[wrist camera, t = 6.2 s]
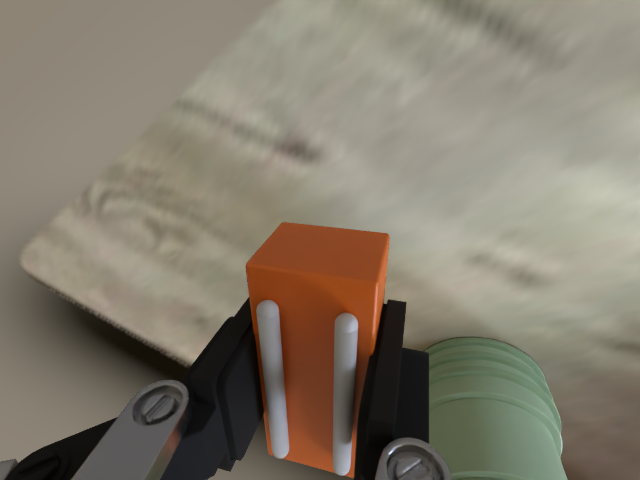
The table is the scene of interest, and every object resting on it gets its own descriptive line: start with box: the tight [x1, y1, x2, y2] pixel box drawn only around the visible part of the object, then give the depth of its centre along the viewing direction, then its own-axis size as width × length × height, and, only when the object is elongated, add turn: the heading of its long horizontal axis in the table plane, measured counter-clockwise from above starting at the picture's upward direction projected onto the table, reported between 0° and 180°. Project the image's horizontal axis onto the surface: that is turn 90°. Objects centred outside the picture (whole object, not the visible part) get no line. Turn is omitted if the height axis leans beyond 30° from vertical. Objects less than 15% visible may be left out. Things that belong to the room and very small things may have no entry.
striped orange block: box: [246, 222, 390, 478], centre depth 10 cm, size 7×3×3 cm, turn 1°
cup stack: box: [424, 337, 567, 480], centre depth 19 cm, size 9×9×11 cm
